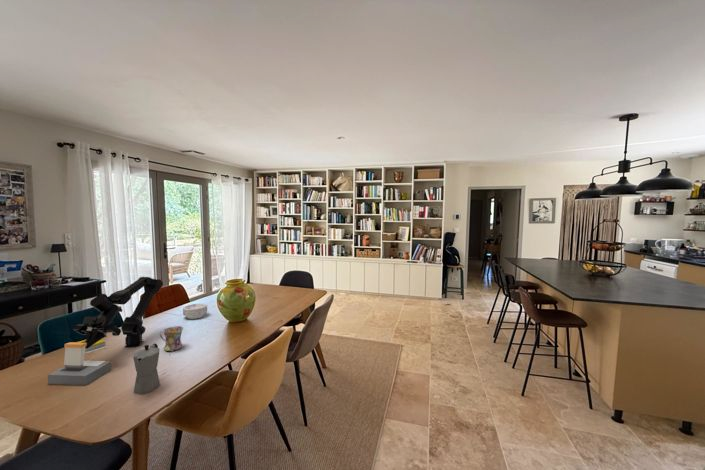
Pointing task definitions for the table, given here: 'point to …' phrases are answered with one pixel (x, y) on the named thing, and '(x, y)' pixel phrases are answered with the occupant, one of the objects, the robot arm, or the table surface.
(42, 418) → the table surface
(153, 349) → the coffeepot
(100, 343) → the emergency button
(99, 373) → the box
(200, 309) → the paper bowls
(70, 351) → the handle
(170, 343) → the mug
